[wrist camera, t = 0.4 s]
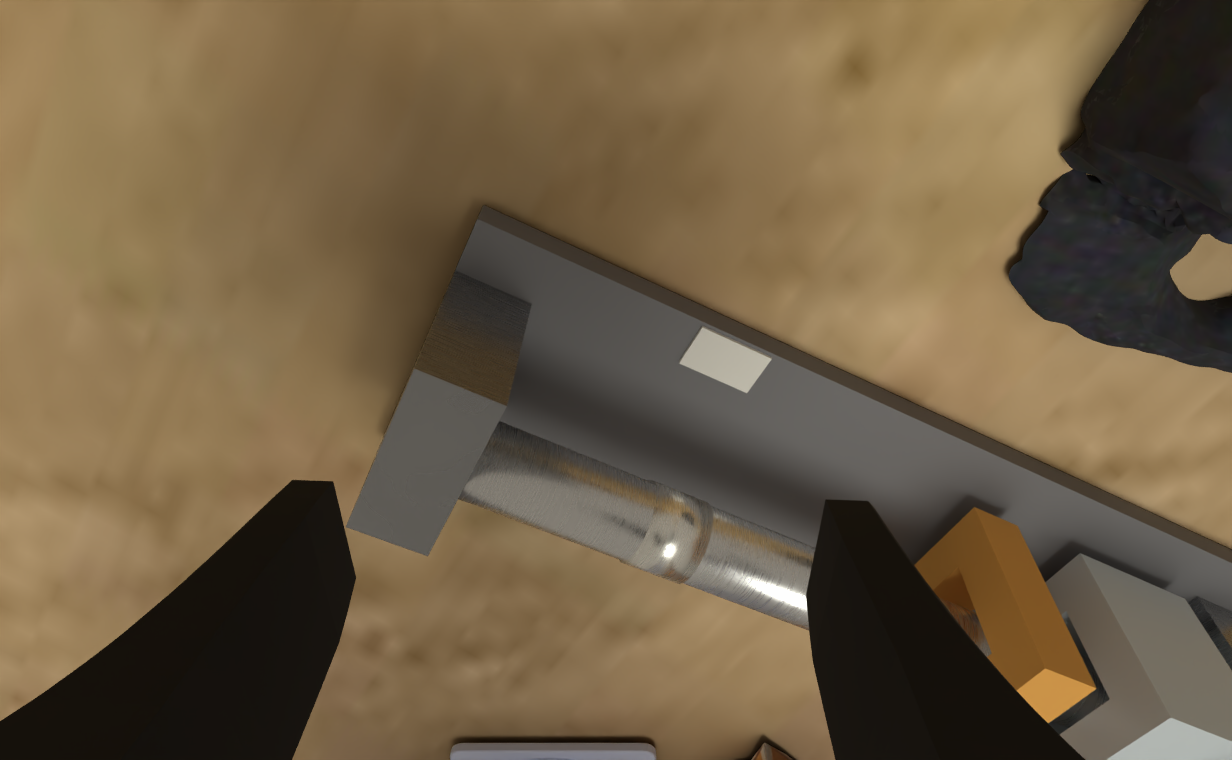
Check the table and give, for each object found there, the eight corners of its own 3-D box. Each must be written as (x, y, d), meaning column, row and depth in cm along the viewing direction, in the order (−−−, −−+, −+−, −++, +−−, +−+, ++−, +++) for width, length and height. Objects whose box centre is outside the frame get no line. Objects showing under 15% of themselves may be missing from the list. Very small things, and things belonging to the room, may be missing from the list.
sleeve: (1185, 598, 25) (1385, 907, 18) (1058, 692, 28) (1190, 990, 21) (1079, 553, 24) (1248, 859, 17) (959, 654, 27) (1064, 953, 20)
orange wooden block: (1017, 525, 24) (1096, 688, 19) (901, 631, 26) (948, 794, 22) (974, 506, 23) (1045, 668, 19) (861, 616, 26) (901, 778, 22)
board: (1270, 568, 26) (1289, 590, 25) (1080, 704, 30) (1091, 726, 30) (483, 204, 20) (476, 220, 19) (383, 436, 24) (375, 456, 24)
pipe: (1230, 596, 27) (1334, 744, 23) (1111, 681, 29) (1186, 827, 25) (461, 255, 21) (413, 369, 17) (399, 398, 24) (345, 528, 20)
